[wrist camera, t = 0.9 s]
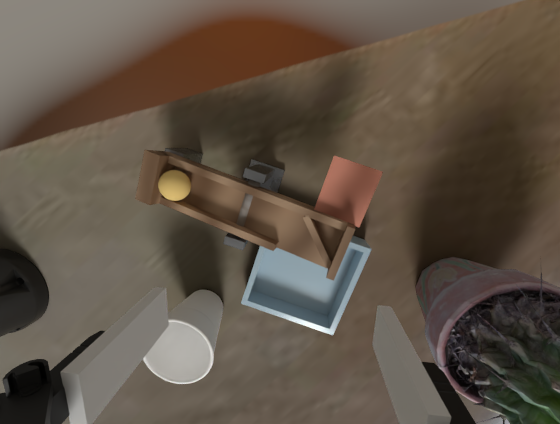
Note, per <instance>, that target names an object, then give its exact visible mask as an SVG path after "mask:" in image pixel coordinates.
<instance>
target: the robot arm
mask: <svg viewBox="0 0 560 424" xmlns="http://www.w3.org/2000/svg"><path fill="white" fill-rule="evenodd" d="M47 305H48V290H47V287H46V284H45V281H44V279H43V277H42V276H41V274H40V273H39V271H38V270H37V269H36V267H35V266H34V265H33V264H32V263H31V262H29V261H28V260H27V259H26V258H24V257H23V256H21V255H19V254H17V253H15V252H13V251H10V250H6V249H0V336H3V335H5V334H7V333H12V332H16V331H19V330H22V329H24V328H26V327H27V326H29V325H30V324H32V323H34V322H35V321H37V320H38V319H39V318H41V317H42V315H43V314H44V313H45V311H46V309H47ZM168 326H169V322H168V308H167V295H166V288H162V287H154V288H153V289H152V290H151V291H149V292H148V293H147V294H146V295H145V296H144V297H143V298H142V299H141V300H139V301H138V302H137V303H136V304H135V305H134V306H133V307H132V308H131V309H130V310H128V311H127V312H126V313H125V314H124V315H123V316H122V317H121V318H120V319H118V320H117V321H116V322H115V323H114V324H113V325H112V326H111V327H110V328H109V329H107V330H106V331H99V332H98V333H96V334H94V335H92V336H90V337H89V338H88V339H86V340H85V341H84V342H83V343H82V344H81V345H80V347H79V346H78V347H77V348H76V349H75V350H74V351H73V352H72V353H70V354H69V355H68V356H67V357H66V358H64V359H63V360H62V361H61V362H60V363H59V364H58V365H56V366H55V367H54V368H53V369H52V370H51V371H49V366H48V361H46V360H44V359H36V360H31V361H28V362H26V363H23V364H21V365H19V366H17V367H15V368H14V369H12V370H11V371H10V372H9V373H7V374H6V375H5V377H4V378H3V384H4V388H5V392H6V393H0V424H62V423H63V422H64V421H65V419H66V418H67V417H68V416H69V419H70V424H92V423H93V422H94V421H95V420H96V418H97V417H98V416H99V414H100V413H101V412H102V411H103V409H104V408H105V407H106V405H107V404H108V403H109V402H110V400H111V399H112V398H113V397H114V395H115V394H116V393H117V391H118V390H119V389H120V388H121V386H122V385H123V384H124V382H125V381H126V380H127V379H128V377H129V376H130V375H131V373H132V372H133V371H134V370H135V368H136V367H137V366H138V364H139V363H140V362H141V361H142V359H143V358H144V357H145V355H146V354H147V353H148V352H149V350H150V349H151V348H152V346H153V345H154V344H155V343H156V341H157V340H158V339H159V338H160V336H161V335H162V334H163V332H164V331H165V330H166V329H167V327H168ZM372 345H373V348H374V351H375V354H376V357H377V360H378V363H379V366H380V369H381V372H382V375H383V378H384V381H385V383H386V386H387V389H388V392H389V395H390V398H391V401H392V404H393V407H394V410H395V413H396V416H397V419H398V421H399V424H476V423H475V421H474V420H473V418H472V416H471V415H470V413H469V412H468V410H467V408H466V407H465V405H464V404H463V402H462V400H461V399H460V397H459V396H458V394H456V391H455V389H454V388H453V386H452V385H451V383H450V381H449V380H448V378H447V376H446V375H445V373H444V372H443V371H442V370H441V369H440V368H439V367H438V366H437V365H435V364H434V363H428V362H421V361H420V359H419V357H418V355H417V353H416V351H415V350H414V348H413V346H412V344H411V342H410V340H409V339H408V337H407V335H406V333H405V331H404V329H403V328H402V326H401V324H400V322H399V320H398V318H397V317H396V315H395V313H394V311H393V309H392V307H391V306H379V305H378V307H377V314H376V322H375V329H374V336H373V344H372Z"/></svg>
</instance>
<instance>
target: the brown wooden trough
mask: <svg viewBox="0 0 560 424" xmlns="http://www.w3.org/2000/svg"><path fill="white" fill-rule="evenodd" d="M170 170H178V171H181V172H183V173H185V174H186V175H187V176H188V178H189V179H190V182H191V190H190V192H189V194H188V195H187V196H186V197H185V198H184V199H182V200H178V201H172V200H169V199H167V198H165V197H164V196H163V195H162V194H161V193H160V191H159V188H158V182H159V179H160V177H161V176H162V175H163V174H164V173H165V172H167V171H170ZM382 173H383V172H382V171H379V170H376V169H373V168H370V167H367V166H364V165H361V164H358V163H355V162H352V161H349V160H346V159H343V158H340V157H337V156H334V157H333V160H332V163H331V165H330V168H329V171H328V173H327V176H326V179H325V181H324V184H323V187H322V190H321V192H320V195H319V198H318V200H317V203H316V206H315V207H313V206H311V205H308V204H305V203H303V202H300V201H298V200H295V199H292V198H290V197H287V196H284V195H282V194H279V193H276V192H274V191H271V190H268V189H266V188H263V187H260V183H259V182H256V181H254V180H251V179H249V181H248V182H247V181H245V180H242V179H239V178H237V177H234V176H231V175H229V174H226V173H223V172H221V171H218V170H215V169H213V168H210V167H208V166H205V165H202V164H200V163H197V162H194V161H192V160H189V159H186V158H184V157H181V156H178V155H176V154H173V153H171V152H166V151H153V150H145V151H144V156H143V161H142V166H141V172H140V177H139V182H138V187H137V193H136V198H135V199H137V200H139V201H141V202H144V203H146V204H148V205H152V204H157V203H160V204H163V205H165V206H167V207H170V208H172V209H174V210H177V211H179V212H182V213H184V214H186V215H189V216H191V217H193V218H196V219H198V220H200V221H203V222H205V223H208V224H210V225H212V226H215V227H217V228H219V229H222V230H224V231H227V232H229V233H231V234H234V235H236V236H238V237H241V238H243V239H246V240H248V241H250V242H253V243H255V244H257V245H260V246H262V247H264V248H267V249H269V250H272V251H274V250H275V249H276V248H279V249H282V250H284V251H286V252H289V253H291V254H294V255H296V256H298V257H301V258H303V259H305V260H308V261H310V262H313V263H315V264H317V265H320V266H322V267H325V268H327V269H328V271H327V276H326V278H328V279H330V280H333V281H334V279H335V276H336V274H337V272H338V269H339V267H340V265H341V262H342V260H343V258H344V255H345V253H346V250H347V248H348V246H349V243H350V241H351V239H352V236H353V234H354V232H355V226H357V227H360V225H361V222H362V220H363V218H364V215H365V213H366V211H367V208H368V206H369V204H370V201H371V199H372V197H373V194H374V192H375V190H376V187H377V185H378V183H379V180H380V178H381V176H382Z"/></svg>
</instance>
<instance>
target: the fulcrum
mask: <svg viewBox="0 0 560 424" xmlns="http://www.w3.org/2000/svg"><path fill="white" fill-rule="evenodd" d="M284 171H285V170H283V169H280V168H277V167H274V166H271V165H268V164H265V163H262V162H259V161H257V160H254V159H251V163H250V166H249V167H247V168H245V171H244V174H243V177H245V178H246V180H245V181H247V182H248V181H249V179H251V180H254V181H256V182H259V183H260V187H263V188H266V189H268V190H271V191H274V192H276V193H277V192H278V189H279V186H280V183H281V180H282V177H283V174H284ZM247 242H248V240H246V239H243V238H241V237H238V236H236V235H234V234H231V233H228V234H227V235H226V236H225V239H224V243H223V244H226V245H228V246H231V247H234V248H237V249H240V250H243V249H244V247H245V246H246V244H247Z"/></svg>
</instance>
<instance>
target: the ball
mask: <svg viewBox="0 0 560 424" xmlns="http://www.w3.org/2000/svg"><path fill="white" fill-rule="evenodd" d="M158 188H159V191H160V193H161V194H162V195H163V196H164V197H165V198H167V199H169V200H172V201H178V200H182V199H184V198H185V197H186V196H187V195H188V194H189V192H190V190H191V182H190V179H189V178H188V176H187V175H186V174H185V173H183V172H181V171H178V170H170V171H167V172H165V173H164V174H163V175H162V176H161V177H160V179H159V182H158Z"/></svg>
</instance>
